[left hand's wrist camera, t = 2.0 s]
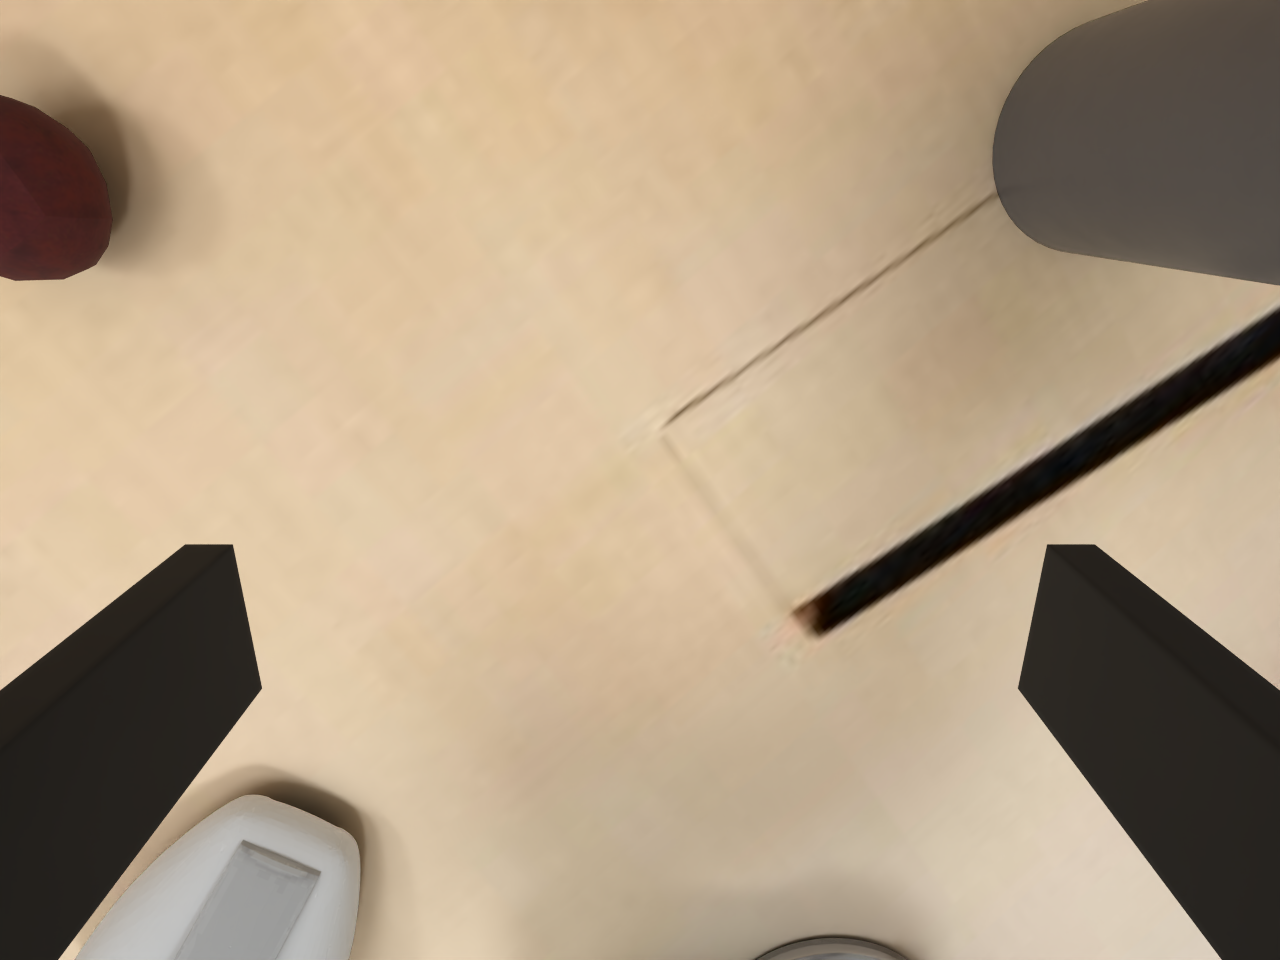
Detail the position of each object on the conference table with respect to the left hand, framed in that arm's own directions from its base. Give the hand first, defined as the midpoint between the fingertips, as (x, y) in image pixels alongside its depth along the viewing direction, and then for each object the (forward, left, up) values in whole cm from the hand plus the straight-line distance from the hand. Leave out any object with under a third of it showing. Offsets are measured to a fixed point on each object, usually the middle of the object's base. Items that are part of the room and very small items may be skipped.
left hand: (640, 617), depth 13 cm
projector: (-39, +27, -28) cm, 55 cm away
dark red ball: (+6, +27, -28) cm, 39 cm away
